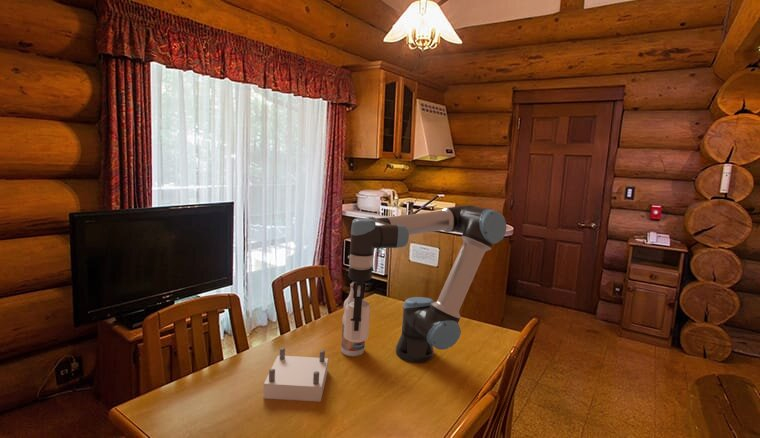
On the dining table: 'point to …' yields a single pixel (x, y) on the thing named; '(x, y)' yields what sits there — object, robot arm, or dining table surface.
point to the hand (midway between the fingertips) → (356, 333)
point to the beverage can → (364, 321)
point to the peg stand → (296, 378)
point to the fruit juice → (347, 346)
